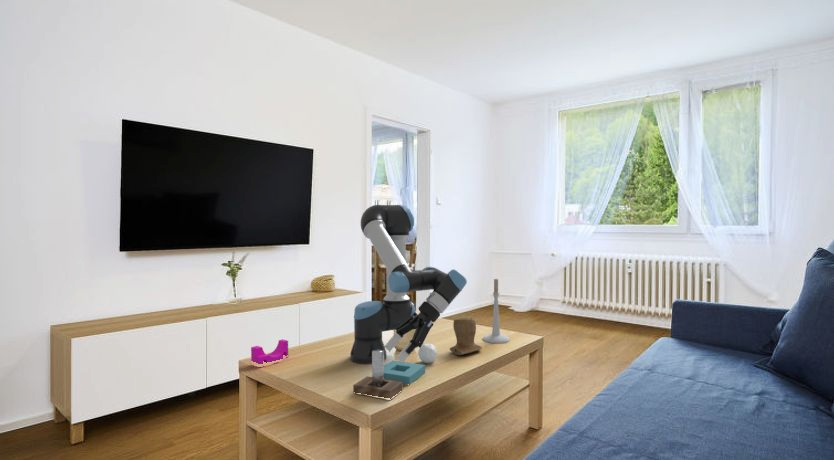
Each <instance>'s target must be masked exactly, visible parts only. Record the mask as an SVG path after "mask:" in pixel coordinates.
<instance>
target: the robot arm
mask: <svg viewBox="0 0 834 460" xmlns="http://www.w3.org/2000/svg"><path fill="white" fill-rule="evenodd" d="M360 218H361V219H360V228H361V231H362V233H363V236H364V237H365V238H367V239H369V241H370V242H371V245H372V246H373V248H374V249H375V251H376V253H377V254H378V256H379V258H380V259H381V260H380V261H382V263H383V265H384V267H385V269H386V270H385V271H386V277H385V278H386V295H385V296H384V297H383V299H382V300H383V303H382V301H380V300H370V301H364V302H360V303H359V304H357V305H356V306H355V307H354V315H353V319H354V321H353V324H354V325H353V326H354V331H353V332H354V342H353V344H352V347H351V351H350V356H349V358H350V360H351V361H352V362H353V363H357V364H372V351H373V350H378V349H380V350H384V361H385V360H386V359H387V351H389V352H391V351H392V350H393V348H395V347H396V345H397V344H398V343H399V342H400V340H402V338H403V337H404V335H406V334H408V333H409V332H411V331H412V330H414V333H413V336H412V339H410V340H409V342H408V343H407V344H406V345H405V346H404V348H403V349H402V350H401V351H400V352H399V354H398V355H397V356H396V359H398V361H400V362H402V363H403V362H406V360H407V358H409V356H410V355H411V353H413V351H414V350H415V349H416V348H420V347H421V346H422V345H423V344H424V342H425V340H426V338H427V336H428V334H429V332H430V331H431V329H432V328H433V326H434V323H436V321H438V320H439V318H440V316H441V314H443V313H444V312H445V311H446V310H447V308H448V307H449V306H450V305H451V303H452V302H453V300H455V298H457V297H458V295H459V294H460V293H461V292H463V291H462V290H463V289H464V287H465V286H466V285H467V283H468V280H467V278H466V277H465V276H464V275H463V274H462V272H460V271H458V270H456V269H450V271H448V272H444V271H442V270H440V269H438V268H437V267H434V266H433V267H432V266H426V267H424V268H423V269H420V270H417V269H416V270H412V269H411V268H410V266H409V265H408V263H407V255H406V253H407V252H406V250H407V247H406V241H407V238H409V236H410V232H412V231H413V230H414V226H415V217H414V214H413V212H412V209H410V207H408V206H406V205H401V204H374V205H372V206H369V207H368V208H366V210H365V211H364V212H362V215H361V217H360ZM430 290H431V291H432V290H433V291H432V292H429V296H427V297H426V299H425V301H423V302H422V303H421V304H420V305H419V306H418V311H419V313H417V312H416V310H417V309H416V307H415V304H414V303H413V302H412V301H411V297H410V296H409V295H408V294H407V293H411V292H421V291H430ZM388 331H395V333H394V334H393V336H392V337H391V338H390V339H389V340H388V341H387V342H386V344H384V340H383V332H388ZM386 350H387V351H386Z"/></svg>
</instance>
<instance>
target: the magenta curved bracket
mask: <svg viewBox="0 0 834 460" xmlns="http://www.w3.org/2000/svg"><path fill="white" fill-rule="evenodd" d="M250 353H251V354H250V357H251V358H250V360H251V361H253V362H256V363H258V364H263V361H264V362H266V363H267V362H272V361H276V360H280V359H283V355H285V356H287V355H288V356H289V340H286V339H278V342H277V346H276V348H275V349H273V351H271V352H269V353H265V351H264V349H263V347H262V346H260V345H255V346H251V348H250ZM283 360H284V359H283ZM251 361H250V362H251Z"/></svg>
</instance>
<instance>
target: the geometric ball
mask: <svg viewBox="0 0 834 460" xmlns="http://www.w3.org/2000/svg"><path fill="white" fill-rule="evenodd" d="M417 355H418V357H419V360H420V361H421V362H422V363H424V364H431V363H434V362H435V360H437V356H438V351H437V348H436V346H435V345H434V344H432V343H423V344H422V346H421V347H419V348H418V352H417Z"/></svg>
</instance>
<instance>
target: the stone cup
mask: <svg viewBox="0 0 834 460" xmlns="http://www.w3.org/2000/svg"><path fill="white" fill-rule="evenodd" d="M452 324H453V325H452V326H453V331H454V334H455V339H456V344H455V345H454V346H452V347H449V351H451V353H452V354H454V355H456V356H463V355H467V354H471V353H474V352H476V351H479V350H480V351H481V350H482V349H483V347H482V346H481V345H479V344H476V343H475V336H476V332H477V331H476V330H477V323H476V320H475V318H473V317H458V318H455V319H453V323H452Z"/></svg>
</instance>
